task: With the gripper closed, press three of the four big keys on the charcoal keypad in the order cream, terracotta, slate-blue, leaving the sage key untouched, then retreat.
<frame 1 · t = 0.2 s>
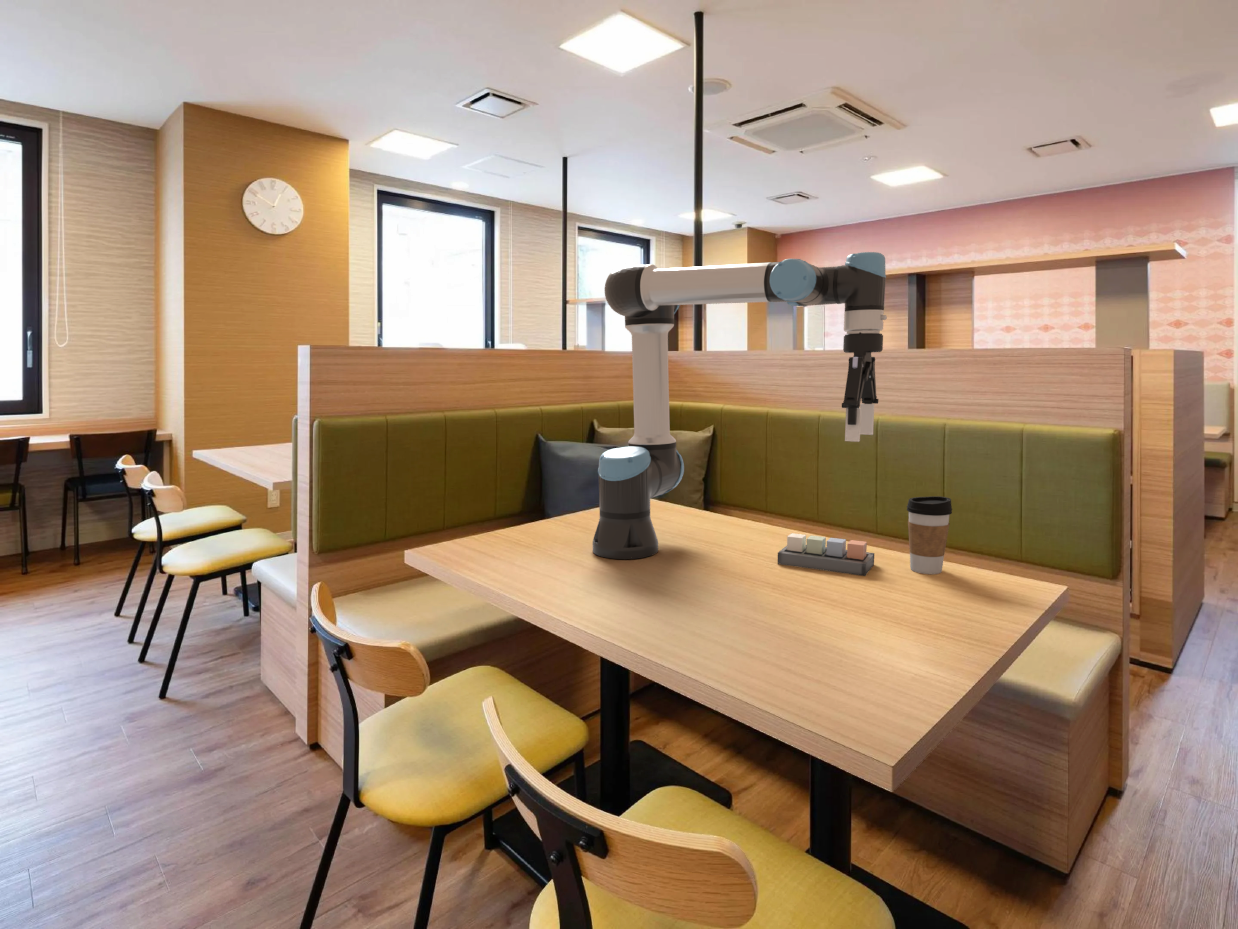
hand: (859, 437, 143), 27 cm above the table, fingers open, 13 cm apart
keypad: (825, 564, 147), on the table
key cream: (796, 542, 150), point 4 cm above the table, slide at 0.0 cm
coffee cup: (925, 571, 142), on the table
key sage: (816, 544, 148), point 4 cm above the table, slide at 0.0 cm
key slate: (836, 547, 146), point 4 cm above the table, slide at 0.0 cm
key terracotta: (856, 549, 143), point 4 cm above the table, slide at 0.0 cm
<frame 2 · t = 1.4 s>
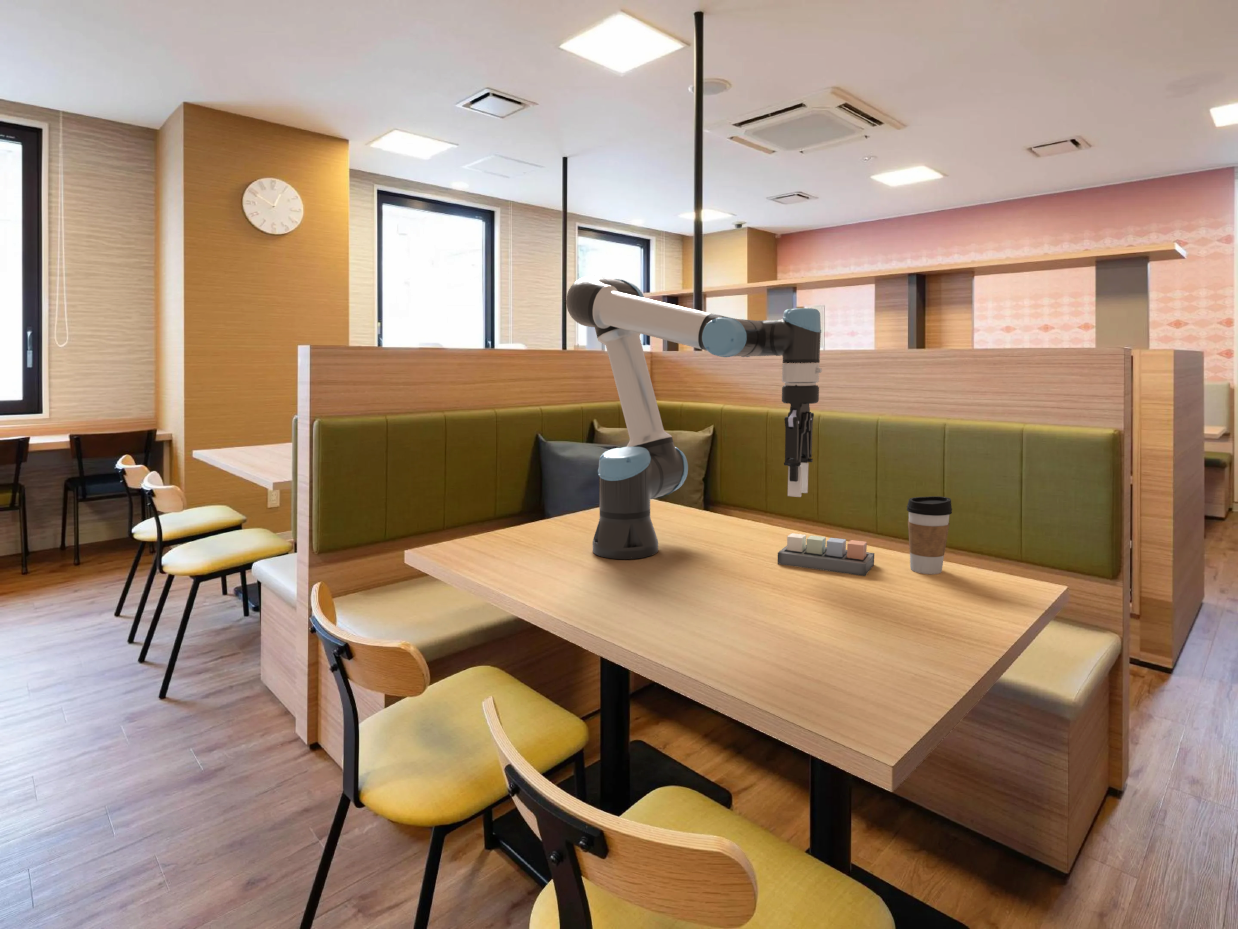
hand: (797, 494, 148), 15 cm above the table, fingers open, 4 cm apart
nothing on the table moved.
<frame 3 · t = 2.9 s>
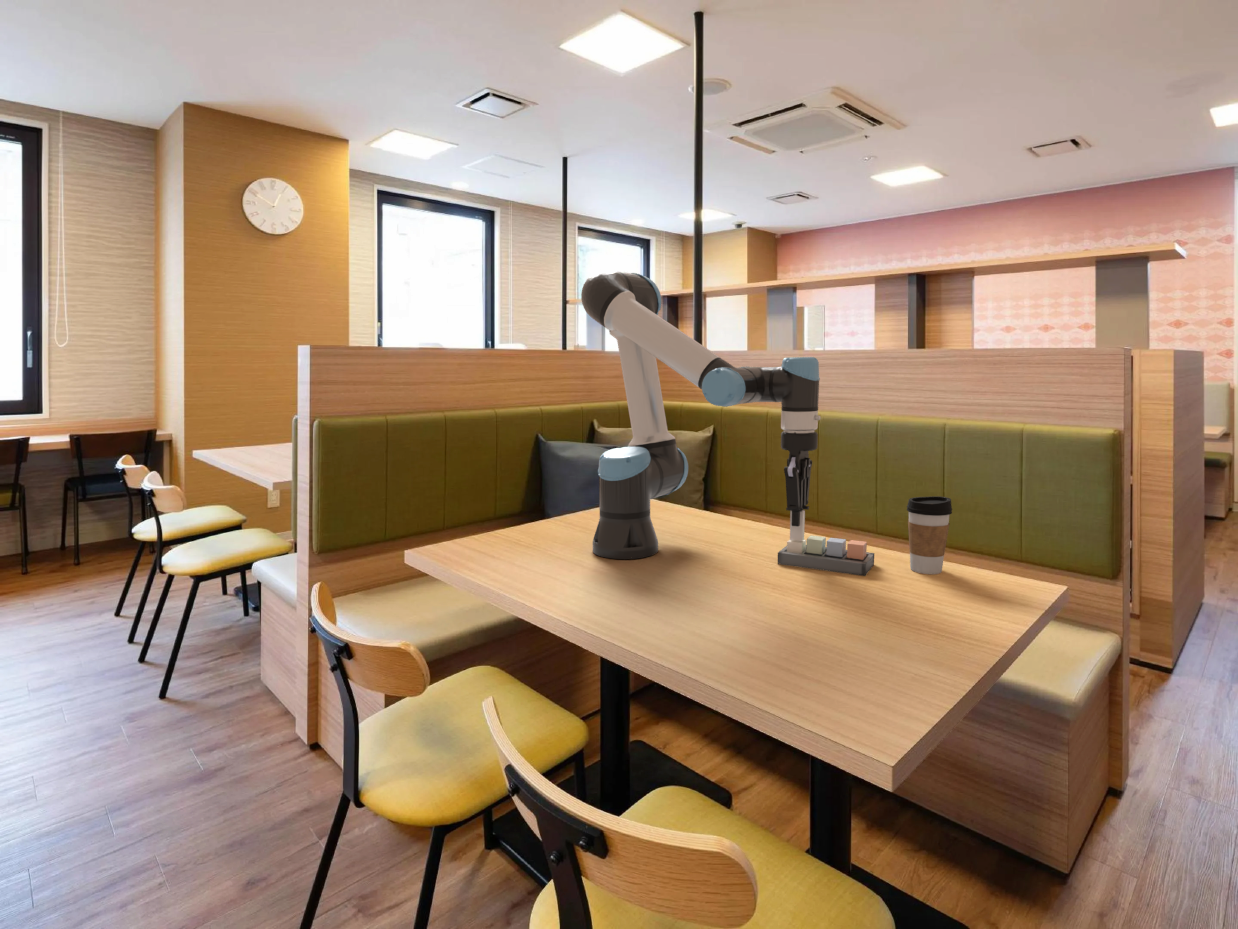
hand: (797, 539, 150), 5 cm above the table, fingers closed
key cream: (796, 547, 150), point 3 cm above the table, slide at 1.1 cm, touching gripper
everything else where it was.
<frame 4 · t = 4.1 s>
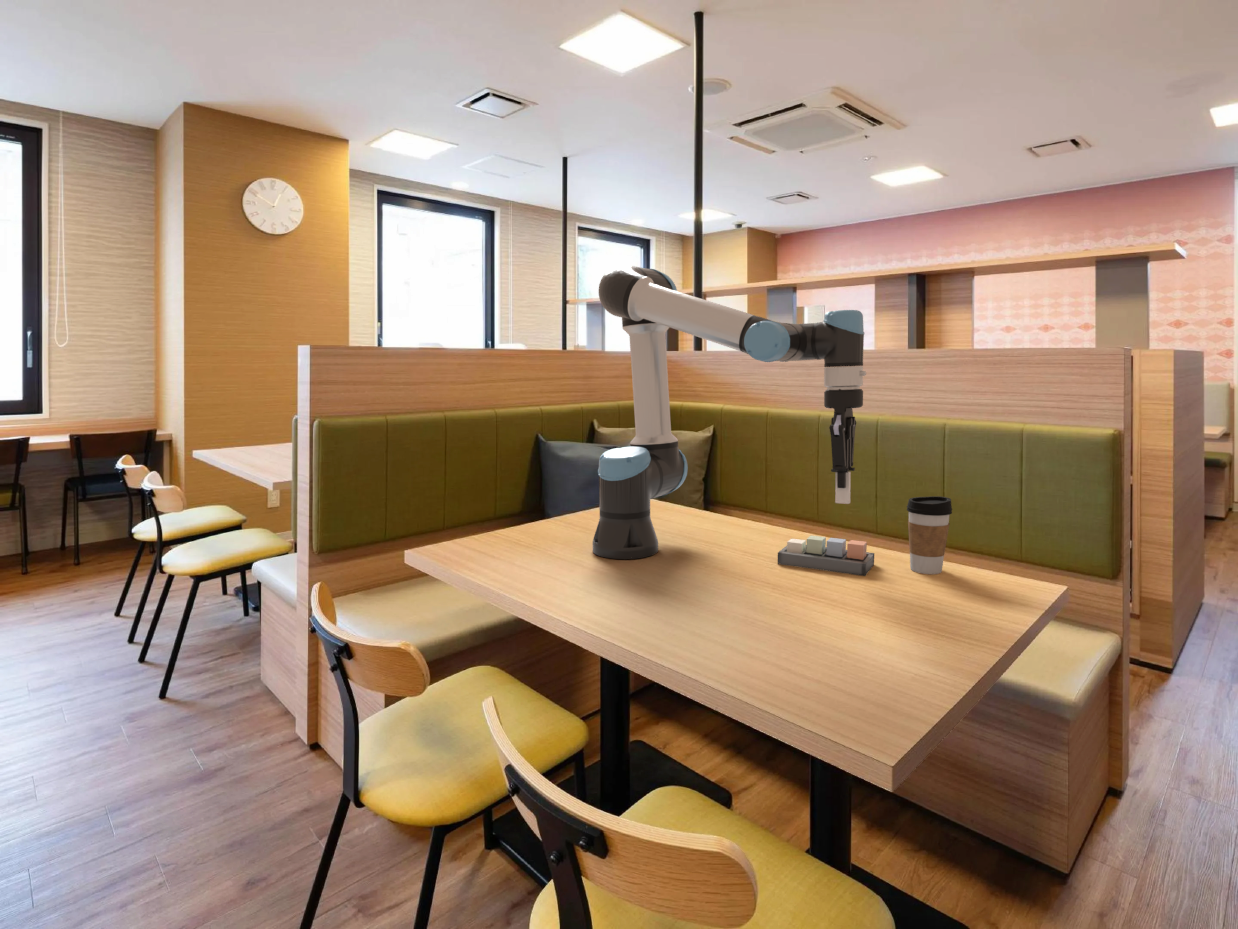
hand: (842, 502, 144), 14 cm above the table, fingers closed
key cream: (796, 547, 150), point 3 cm above the table, slide at 1.2 cm
everything else where it was.
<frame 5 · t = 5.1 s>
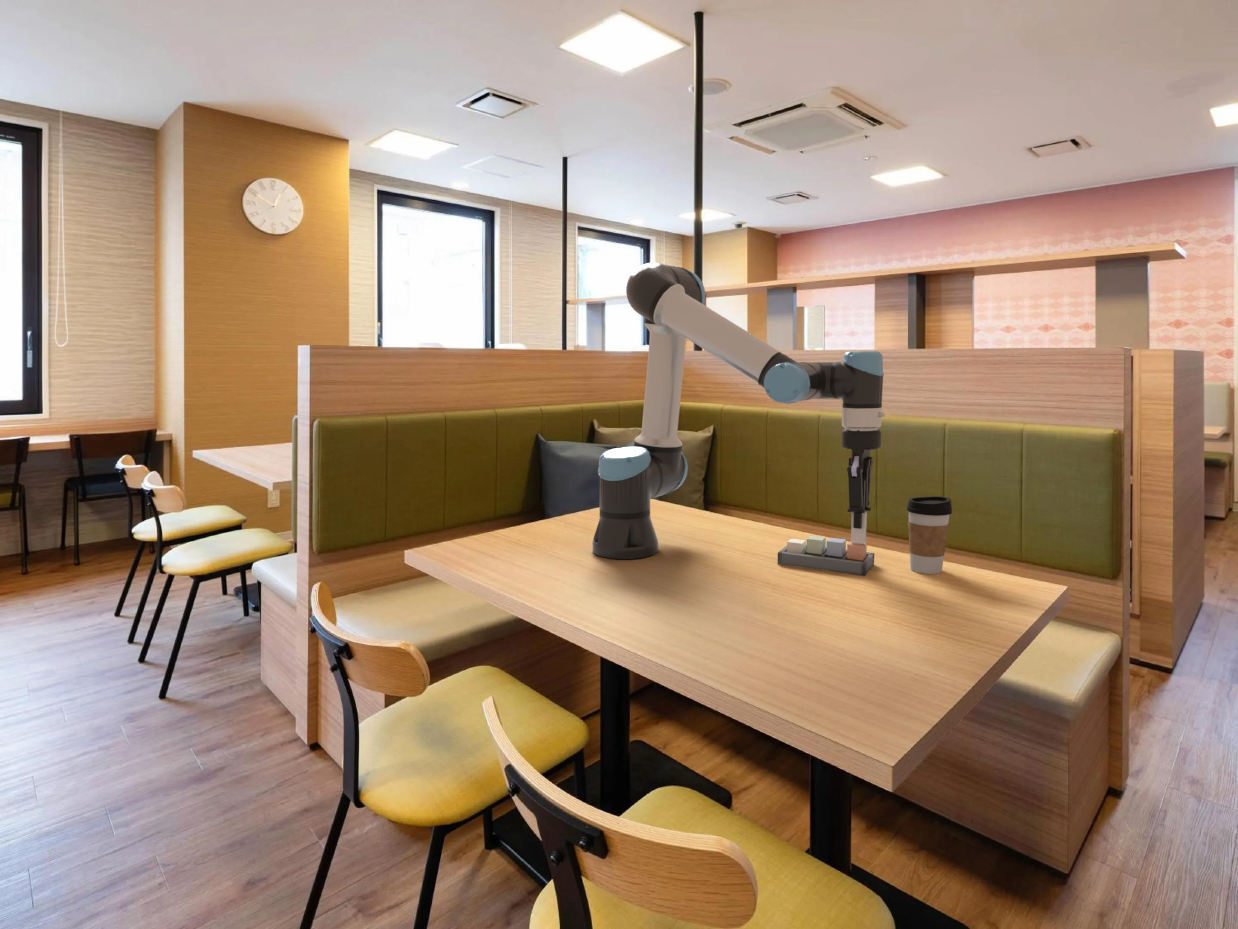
hand: (858, 542, 143), 6 cm above the table, fingers closed
key terracotta: (856, 550, 144), point 4 cm above the table, slide at 0.2 cm, touching gripper
everything else where it was.
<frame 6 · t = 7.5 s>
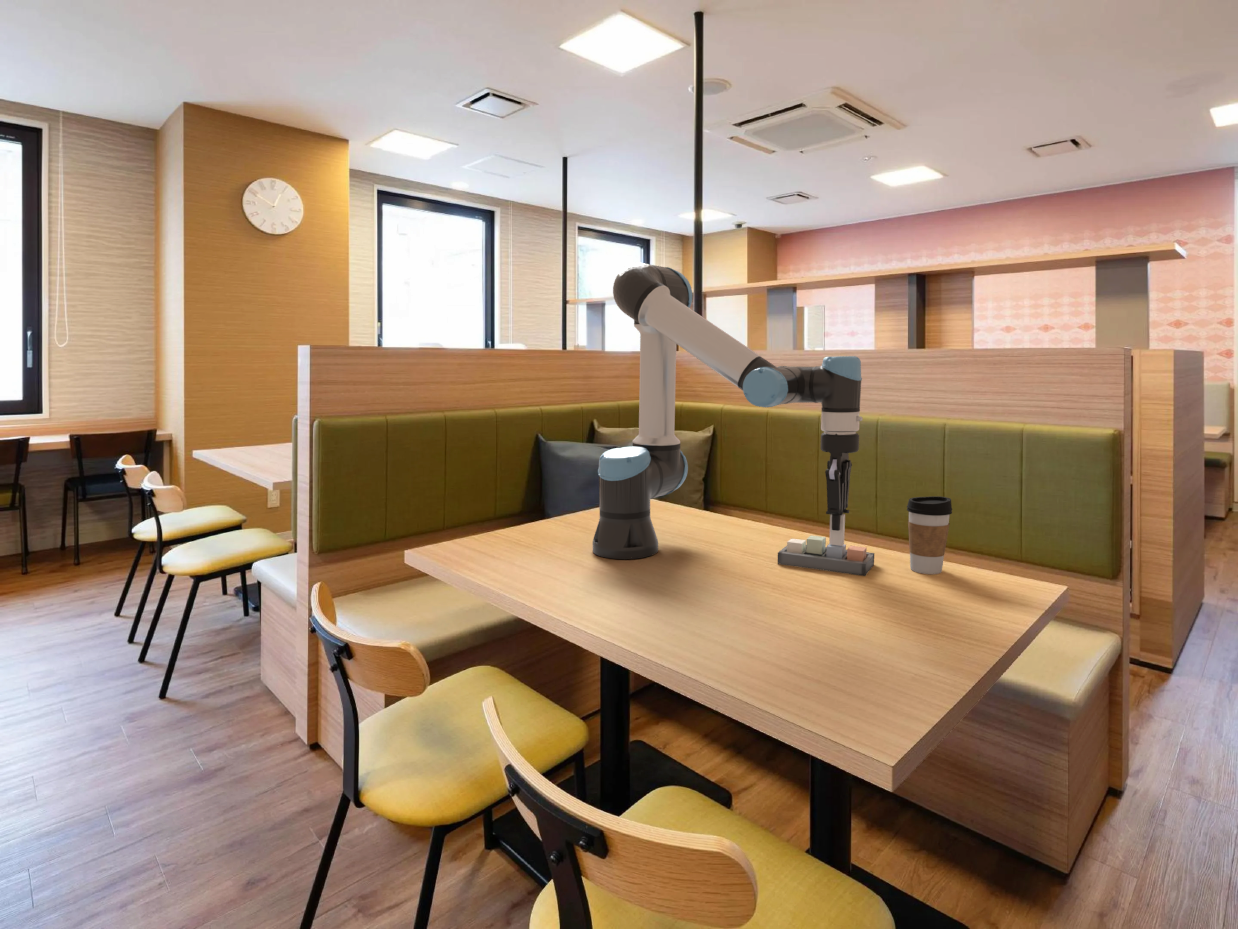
hand: (836, 544, 145), 5 cm above the table, fingers closed
key slate: (836, 552, 146), point 3 cm above the table, slide at 1.1 cm, touching gripper
key terracotta: (856, 555, 144), point 3 cm above the table, slide at 1.2 cm
everything else where it was.
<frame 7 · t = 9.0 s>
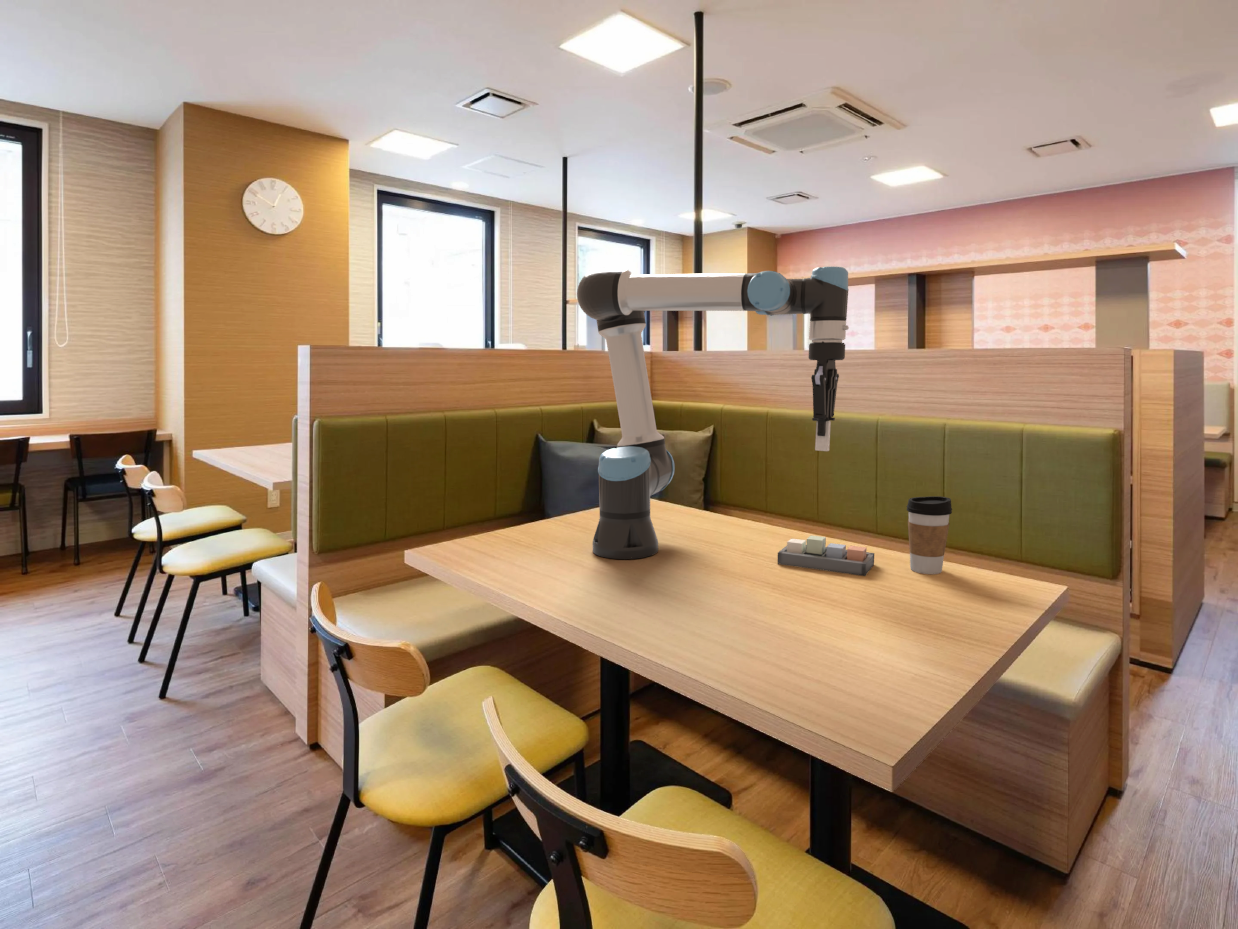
hand: (822, 450, 153), 23 cm above the table, fingers closed
key slate: (836, 552, 146), point 3 cm above the table, slide at 1.2 cm
everything else where it was.
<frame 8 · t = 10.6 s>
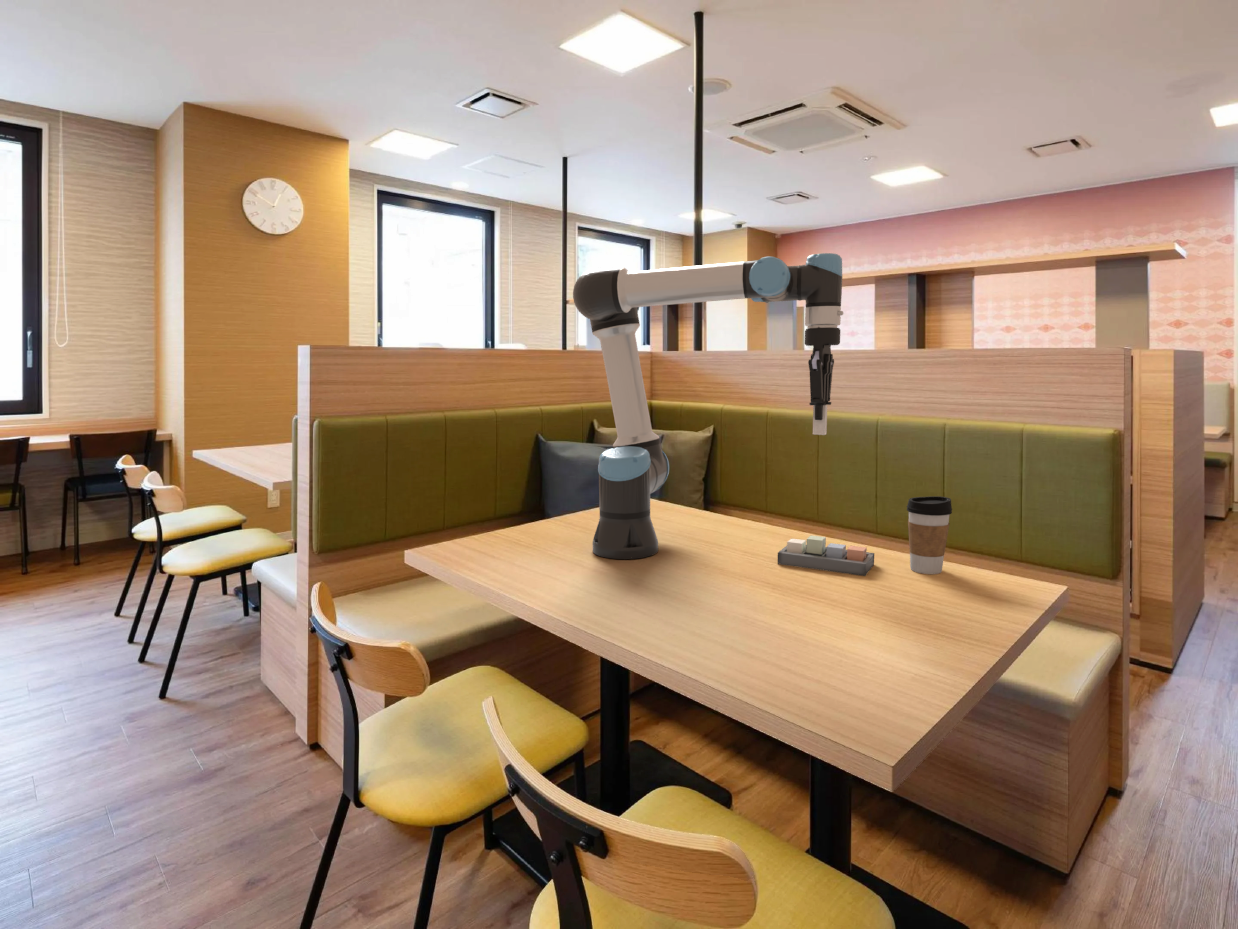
hand: (819, 434, 156), 26 cm above the table, fingers closed
nothing on the table moved.
at the end: key terracotta slide at 1.2 cm; key slate slide at 1.2 cm; key sage slide at 0.0 cm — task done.
